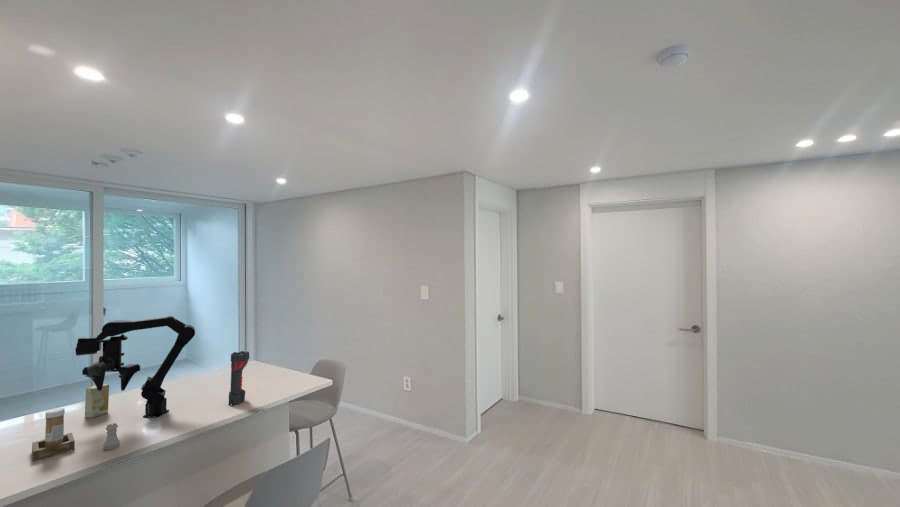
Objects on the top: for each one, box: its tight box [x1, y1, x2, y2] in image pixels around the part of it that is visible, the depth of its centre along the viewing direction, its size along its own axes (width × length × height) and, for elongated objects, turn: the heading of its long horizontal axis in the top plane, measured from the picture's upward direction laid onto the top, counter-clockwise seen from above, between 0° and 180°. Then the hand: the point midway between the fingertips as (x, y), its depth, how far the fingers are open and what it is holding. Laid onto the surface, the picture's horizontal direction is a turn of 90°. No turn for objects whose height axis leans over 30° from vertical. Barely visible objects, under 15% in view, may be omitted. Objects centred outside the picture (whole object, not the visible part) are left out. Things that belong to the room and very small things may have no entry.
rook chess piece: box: [102, 422, 121, 451], centre depth 129 cm, size 4×4×8 cm
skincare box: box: [84, 383, 110, 419], centre depth 156 cm, size 6×4×12 cm
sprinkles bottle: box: [44, 407, 66, 447], centre depth 127 cm, size 5×5×14 cm
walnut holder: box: [31, 432, 76, 462], centre depth 127 cm, size 10×10×3 cm
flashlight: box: [228, 350, 250, 406], centre depth 171 cm, size 8×8×23 cm
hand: (111, 390), depth 149 cm, fingers open, 9 cm apart
